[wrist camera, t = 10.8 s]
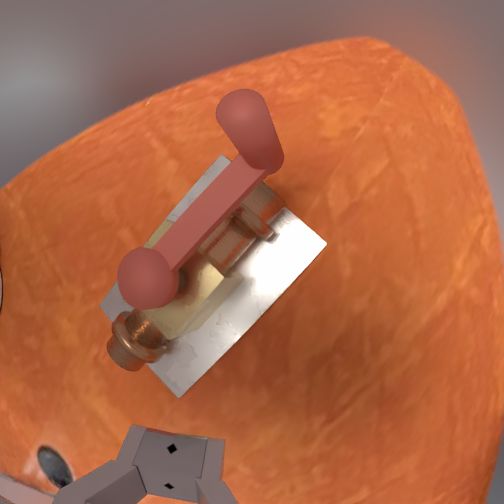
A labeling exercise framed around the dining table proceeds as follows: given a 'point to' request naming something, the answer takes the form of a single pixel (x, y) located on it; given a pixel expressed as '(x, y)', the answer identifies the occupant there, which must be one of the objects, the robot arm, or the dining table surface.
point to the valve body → (213, 287)
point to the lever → (206, 202)
